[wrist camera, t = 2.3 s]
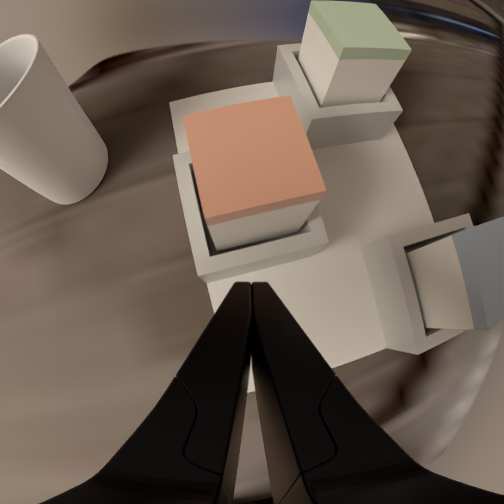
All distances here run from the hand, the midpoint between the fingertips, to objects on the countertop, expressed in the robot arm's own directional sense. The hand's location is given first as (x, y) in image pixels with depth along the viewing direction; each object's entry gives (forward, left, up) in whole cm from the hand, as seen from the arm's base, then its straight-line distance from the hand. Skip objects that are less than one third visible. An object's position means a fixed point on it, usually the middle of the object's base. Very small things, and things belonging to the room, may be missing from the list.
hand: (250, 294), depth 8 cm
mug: (+14, +11, -12) cm, 22 cm away
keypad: (+5, -7, -12) cm, 15 cm away
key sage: (+13, -10, -9) cm, 18 cm away
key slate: (-2, -12, -9) cm, 15 cm away
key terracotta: (+5, -2, -9) cm, 10 cm away
